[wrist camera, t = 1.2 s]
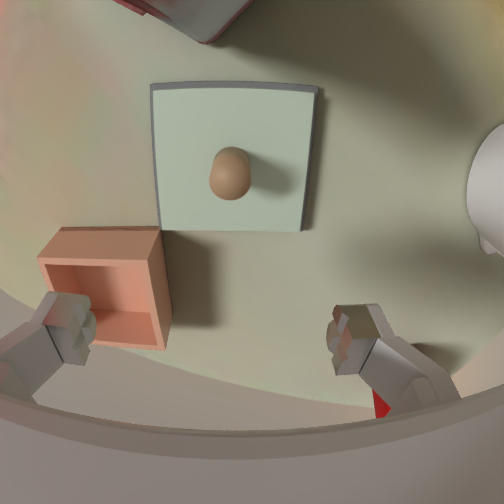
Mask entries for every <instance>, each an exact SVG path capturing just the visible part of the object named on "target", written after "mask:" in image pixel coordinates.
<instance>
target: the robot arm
mask: <svg viewBox="0 0 504 504" xmlns="http://www.w3.org/2000/svg"><path fill="white" fill-rule="evenodd" d="M467 209H468V213H469V216H470V219H471V221H472V223H473V225H474V226H475V228H476V229H477V231H478V233H479V237H480V246H481V249H482V250H483V251H484V252H485V253H486V254H493V253H497V252H498V253H499V254H500V255H501V256H503V257H504V124H502V125H500V126H498V127H497V128H496V129H494V130H493V131H492V132H491V133H490V134H489V135H488V136H487V138H486V139H485V140H484V142H483V143H482V145H481V146H480V148H479V150H478V152H477V154H476V156H475V158H474V161H473V164H472V167H471V170H470V174H469V178H468V184H467ZM90 306H91V302H90V299H89V297H88V296H86V295H80V294H72V293H64V292H54V291H49V292H47V293H46V295H45V297H44V298H43V300H42V302H41V303H40V305H39V307H38V308H37V310H36V312H35V314H34V315H33V317H32V319H31V320H30V322H25V323H24V324H22V325H21V326H19V327H18V328H16V329H15V330H13V331H12V332H10V333H9V334H8V335H6V336H4V337H3V338H1V339H0V504H504V384H502V385H500V386H497V387H494V388H491V389H489V390H486V391H483V392H480V393H477V394H474V395H471V396H468V397H464V398H461V397H460V395H459V393H458V391H457V389H456V387H455V385H454V383H453V381H452V379H451V377H450V375H449V373H448V371H446V370H445V369H444V368H442V367H441V366H439V365H438V364H437V363H435V362H434V361H433V360H431V359H430V358H428V357H427V356H426V355H424V354H423V353H421V352H420V351H419V350H417V349H416V348H415V347H413V346H412V345H410V344H409V343H408V342H406V341H405V340H403V339H402V338H401V337H399V336H397V337H395V335H394V333H393V331H392V329H391V327H390V325H389V323H388V321H387V319H386V317H385V315H384V313H383V311H382V309H381V307H380V306H379V305H378V304H355V305H336V306H335V307H334V310H333V313H332V315H333V318H334V320H332V321H331V322H330V323H329V325H328V328H327V335H326V340H327V346H328V350H329V351H331V352H332V353H333V354H334V355H333V358H332V363H333V366H334V370H335V373H336V375H350V374H359V376H360V377H361V378H362V379H363V380H364V381H365V382H366V383H367V384H368V385H369V386H370V387H371V388H372V389H373V390H374V391H375V392H376V393H377V394H378V395H379V396H380V397H381V398H382V399H383V400H384V401H385V402H386V403H387V404H388V405H389V406H390V407H391V408H392V409H391V410H390V411H389V413H388V414H387V415H386V416H385V417H383V418H377V419H372V420H365V421H359V422H352V423H345V424H337V425H329V426H319V427H309V428H298V429H297V428H296V429H280V430H251V431H250V430H248V431H228V430H226V431H224V430H223V431H222V430H196V429H180V428H168V427H157V426H148V425H139V424H131V423H124V422H118V421H111V420H106V419H100V418H94V417H89V416H84V415H79V414H75V413H69V412H65V411H61V410H57V409H53V408H49V407H45V406H41V405H38V404H37V403H36V401H35V400H34V399H33V397H32V395H33V394H34V393H35V392H36V391H37V390H38V389H39V388H40V387H41V386H42V385H43V383H45V382H46V381H47V380H48V379H49V378H50V377H51V376H52V375H53V374H54V373H55V372H56V371H57V370H58V369H59V368H60V367H61V366H62V365H63V363H68V364H76V365H83V366H85V364H86V361H87V358H88V355H89V352H90V350H89V347H88V345H89V344H90V343H92V342H93V341H94V338H95V335H96V328H97V325H96V318H95V315H94V314H93V313H92V312H91V311H90V310H89V309H90Z"/></svg>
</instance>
